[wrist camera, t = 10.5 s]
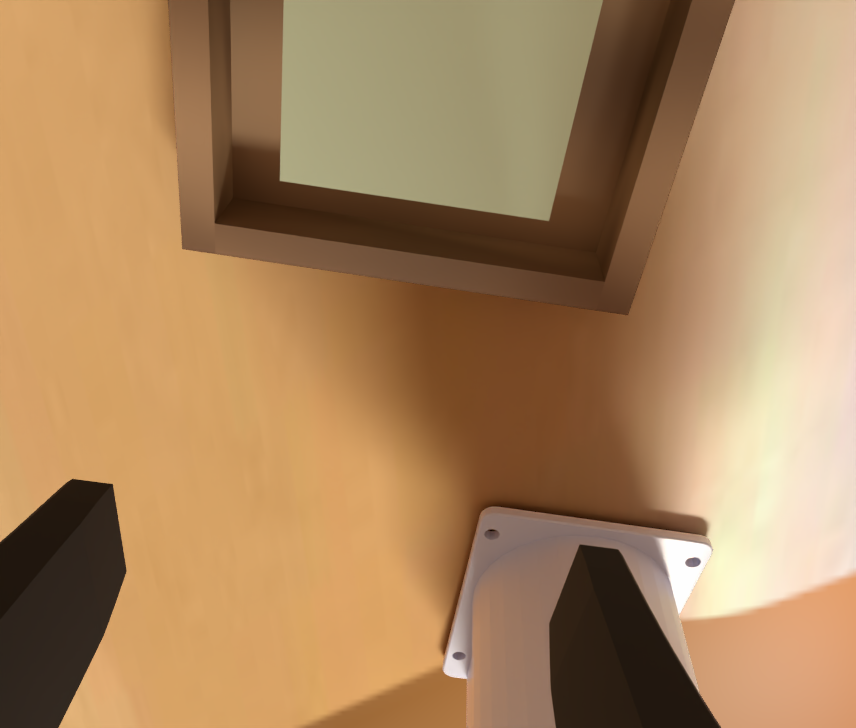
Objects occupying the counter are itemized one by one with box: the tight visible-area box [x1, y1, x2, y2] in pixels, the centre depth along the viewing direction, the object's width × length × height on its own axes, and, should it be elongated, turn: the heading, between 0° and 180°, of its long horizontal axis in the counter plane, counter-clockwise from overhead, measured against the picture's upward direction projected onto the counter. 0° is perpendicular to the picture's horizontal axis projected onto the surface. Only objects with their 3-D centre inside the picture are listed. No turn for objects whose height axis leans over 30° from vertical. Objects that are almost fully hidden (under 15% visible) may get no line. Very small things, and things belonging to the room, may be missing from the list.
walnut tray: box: [168, 0, 735, 315], centre depth 16 cm, size 12×11×2 cm
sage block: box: [280, 0, 603, 221], centre depth 13 cm, size 4×4×6 cm
